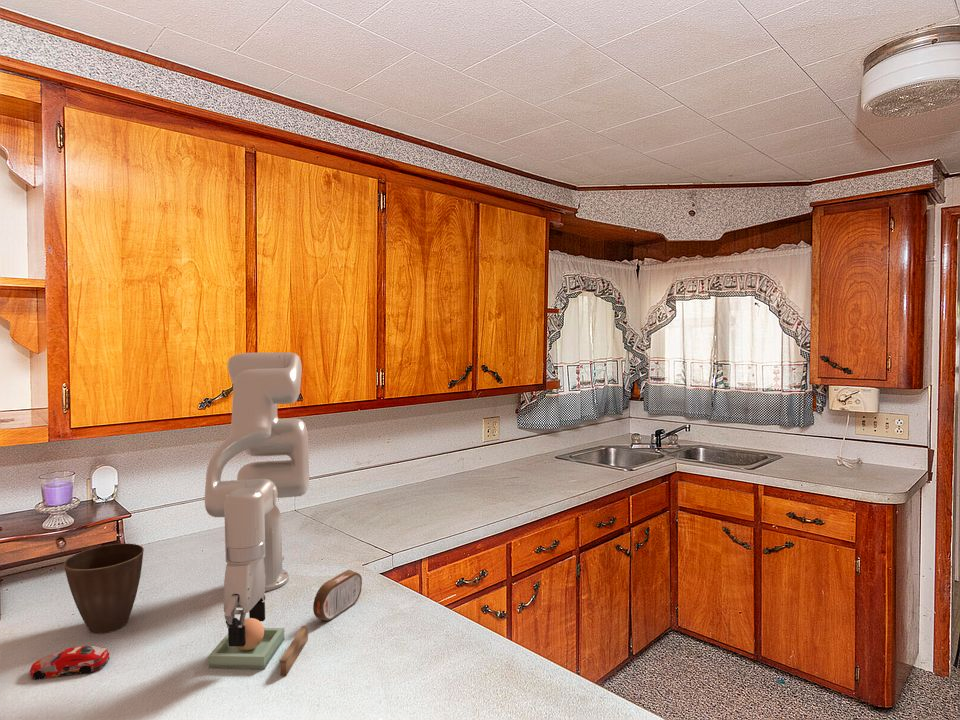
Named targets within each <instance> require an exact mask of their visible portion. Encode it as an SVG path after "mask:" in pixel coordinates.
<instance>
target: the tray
mask: <svg viewBox="0 0 960 720" xmlns="http://www.w3.org/2000/svg"><path fill="white" fill-rule="evenodd" d="M263 628H264V636H263V639H262V641H261V643H260V644H259V645H258V646H257V647H255V648H254V649H251V650H241V649H239V648H238V647H237V646H229V642H228V633H227V634H226V635H225V636H224V637H223V639H221V641H220V642H219V643H218V644H217V645H216V646H215V648H214V649H213V650H212V651H211V652H210V654H209V655H208V660H207V661H208V669H227V670H229V669H231V670H234V669H235V670H238V669H239V670H240V669H241V670H265V669H266V667H267V666H268V664H269V663H270V661H271V660H272V659H273V657H274V655H275V654H276V652H278V650H279V648H280V647H281V645H282V644H283V642H284V641H285V627H263Z"/></svg>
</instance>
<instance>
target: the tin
mask: <svg viewBox="0 0 960 720" xmlns="http://www.w3.org/2000/svg"><path fill="white" fill-rule="evenodd" d="M362 581H363V577H362V576H361V574H360V573H359V572H356V571H353V570H351V569H347V570H344V571H343V572H342V573H340V574H337V575H336V576H334V577H333V578H330V579H329V580H327V581H325V582H324V583H323V584H322V585H321V586H320V587H319V589H318V591H317V592H316V594H315V596H314V601H313V603H312V604H313V605H312V607H313V608H312V609H313V610H312V611H313V615H314V616H315V617H316V619H321V620H323V621H331V620H333V619H335V618H336V617H338V616H339V615H341V614H342V613H344V612H345V611H347V610H348V609H350V608H352V607H353V606H354V605H355V604H356V603H357V601H358V600H359V598H360V596H361V593H362V586H363V584H362V583H363V582H362Z"/></svg>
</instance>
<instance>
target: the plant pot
mask: <svg viewBox="0 0 960 720" xmlns="http://www.w3.org/2000/svg"><path fill="white" fill-rule="evenodd" d="M144 549H145V548H144V547H143V546H142V545H139V544H136V543H114V544H113V543H112V544H106V545H100V546H96V547H92V548H89V549H85V550H83V551H80V552H78V553H75V554H72V555H70V557H68V558H67V559H66V560H65V561H64V563H63V566H64V571H65V575H66V579H67V583H68V586H69V589H70V592H71V595H72V599H73V601H74V603H75V606H76V608H77V610H78V612H79V614H80V617H81V618H82V621H83V622H84V625H85V626H86V628H87V629H88V631H89V632H90V633H92V634H96V635H97V634H99V635H100V634H106V633H107V634H108V633H111V632H114V631H117V630H119V629H121V628H123V627H125V626H126V625H127V623H128V622H129V619H130V616H131V614H132V610H133V608H134V605H135V600H136V598H137V593H138V589H139V585H140V579H141V575H142V566H143V559H144Z"/></svg>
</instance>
